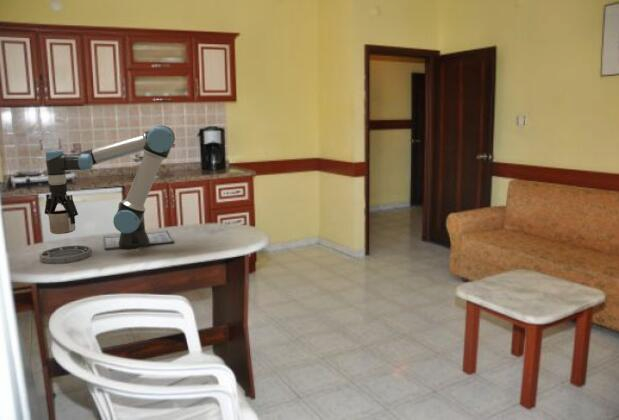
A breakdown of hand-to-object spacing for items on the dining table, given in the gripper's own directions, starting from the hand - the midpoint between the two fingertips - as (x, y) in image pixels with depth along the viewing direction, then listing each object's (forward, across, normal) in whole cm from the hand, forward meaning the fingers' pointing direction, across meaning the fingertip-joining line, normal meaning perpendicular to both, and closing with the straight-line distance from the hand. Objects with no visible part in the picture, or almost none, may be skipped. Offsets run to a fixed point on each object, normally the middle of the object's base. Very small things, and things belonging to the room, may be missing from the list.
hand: (62, 229), depth 246 cm
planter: (+1, 0, 0) cm, 1 cm away
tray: (+13, 0, 0) cm, 13 cm away
